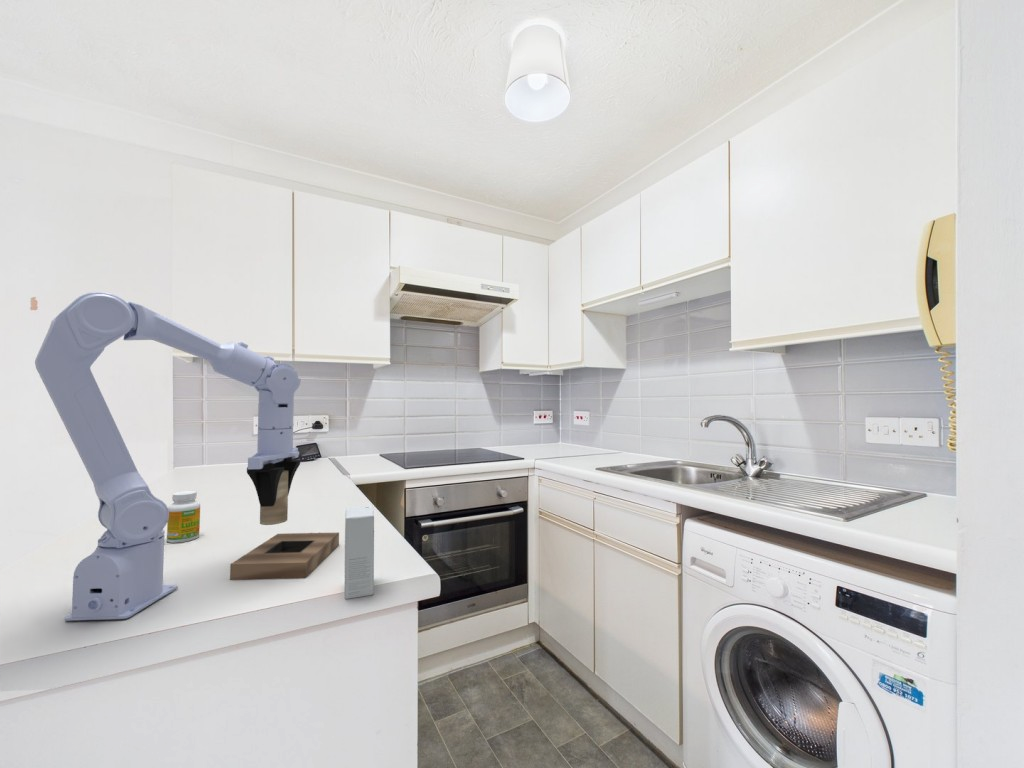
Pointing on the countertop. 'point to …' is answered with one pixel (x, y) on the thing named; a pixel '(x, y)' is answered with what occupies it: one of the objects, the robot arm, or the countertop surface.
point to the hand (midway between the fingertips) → (274, 502)
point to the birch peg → (277, 504)
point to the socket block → (285, 556)
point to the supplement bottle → (183, 517)
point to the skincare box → (359, 552)
